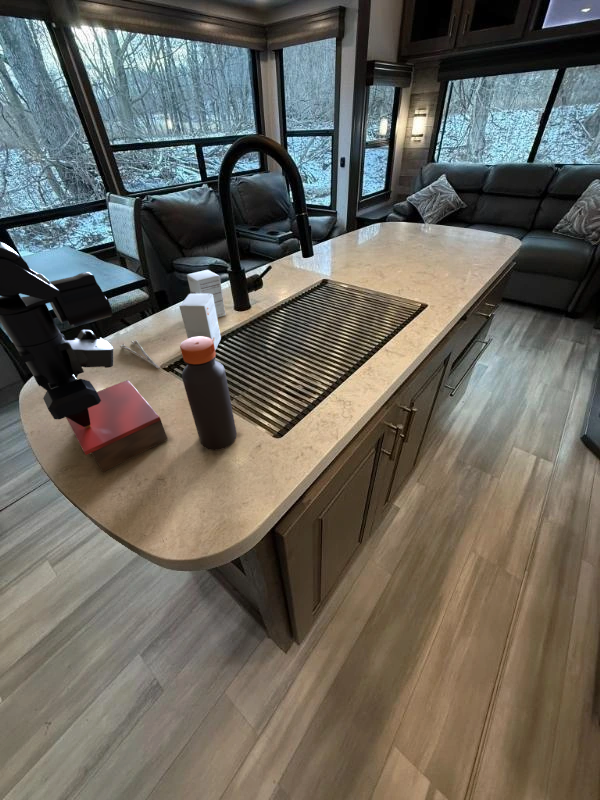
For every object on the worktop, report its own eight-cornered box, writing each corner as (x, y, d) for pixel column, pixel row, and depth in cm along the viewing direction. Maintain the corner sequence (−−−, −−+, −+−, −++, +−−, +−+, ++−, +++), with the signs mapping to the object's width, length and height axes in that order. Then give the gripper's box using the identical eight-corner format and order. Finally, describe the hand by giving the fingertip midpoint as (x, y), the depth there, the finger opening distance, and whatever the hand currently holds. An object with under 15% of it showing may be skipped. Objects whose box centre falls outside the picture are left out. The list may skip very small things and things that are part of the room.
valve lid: (86, 455, 53) (70, 431, 49) (62, 409, 62) (47, 385, 58) (160, 420, 59) (152, 396, 56) (129, 382, 68) (119, 360, 65)
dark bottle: (200, 454, 59) (171, 357, 46) (200, 429, 64) (174, 335, 52) (238, 447, 60) (220, 351, 48) (235, 423, 65) (218, 330, 53)
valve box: (103, 472, 56) (91, 453, 53) (77, 426, 65) (66, 407, 62) (168, 439, 62) (161, 420, 59) (136, 401, 71) (129, 382, 68)
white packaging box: (194, 314, 106) (185, 274, 98) (215, 308, 109) (208, 268, 102) (205, 322, 101) (196, 280, 93) (226, 315, 105) (220, 274, 97)
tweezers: (119, 348, 89) (117, 342, 88) (136, 342, 92) (134, 336, 90) (152, 377, 80) (150, 370, 79) (169, 369, 83) (168, 363, 82)
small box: (199, 338, 93) (188, 293, 85) (221, 338, 93) (213, 293, 85) (190, 353, 87) (178, 305, 79) (214, 353, 86) (204, 305, 78)
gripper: (117, 341, 46) (150, 423, 56) (80, 303, 57) (113, 377, 67) (23, 371, 41) (78, 457, 50) (2, 322, 51) (50, 400, 61)
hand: (82, 418), depth 57 cm, fingers closed on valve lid, 5 cm apart
